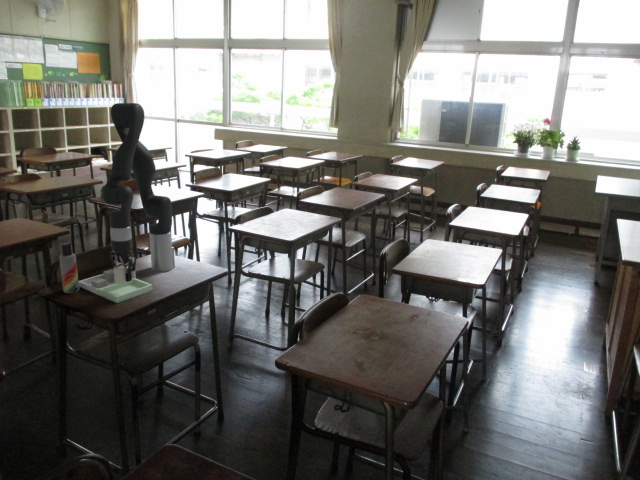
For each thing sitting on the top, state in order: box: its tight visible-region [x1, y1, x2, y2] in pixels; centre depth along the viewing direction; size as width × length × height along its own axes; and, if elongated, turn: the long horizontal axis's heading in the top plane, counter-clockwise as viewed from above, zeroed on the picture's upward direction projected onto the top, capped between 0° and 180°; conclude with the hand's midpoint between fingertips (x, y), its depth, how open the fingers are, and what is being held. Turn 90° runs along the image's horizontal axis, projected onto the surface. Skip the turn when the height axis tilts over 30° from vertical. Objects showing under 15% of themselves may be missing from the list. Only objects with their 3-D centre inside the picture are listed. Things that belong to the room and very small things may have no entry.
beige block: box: [113, 265, 132, 285], centre depth 198 cm, size 4×4×6 cm
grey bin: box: [78, 273, 116, 296], centre depth 209 cm, size 16×14×2 cm
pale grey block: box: [91, 278, 107, 289], centre depth 203 cm, size 4×4×4 cm
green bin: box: [98, 277, 154, 304], centre depth 201 cm, size 16×12×3 cm
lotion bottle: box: [58, 241, 80, 294], centre depth 199 cm, size 6×6×20 cm
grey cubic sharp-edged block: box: [102, 268, 115, 283], centre depth 213 cm, size 4×4×4 cm
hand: (124, 279), depth 200 cm, fingers closed on beige block, 4 cm apart
